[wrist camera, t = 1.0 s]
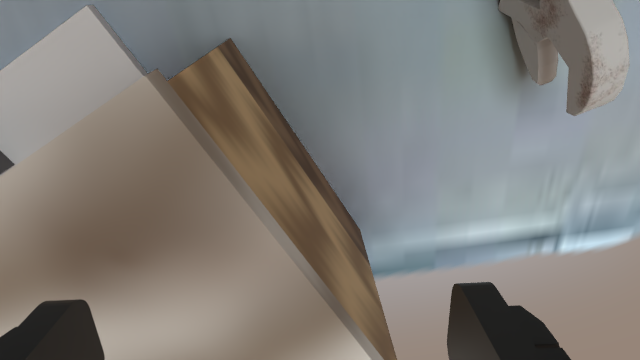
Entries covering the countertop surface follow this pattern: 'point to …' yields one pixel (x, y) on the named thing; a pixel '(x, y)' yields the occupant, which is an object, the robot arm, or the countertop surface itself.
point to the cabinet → (190, 228)
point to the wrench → (573, 46)
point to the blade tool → (61, 83)
